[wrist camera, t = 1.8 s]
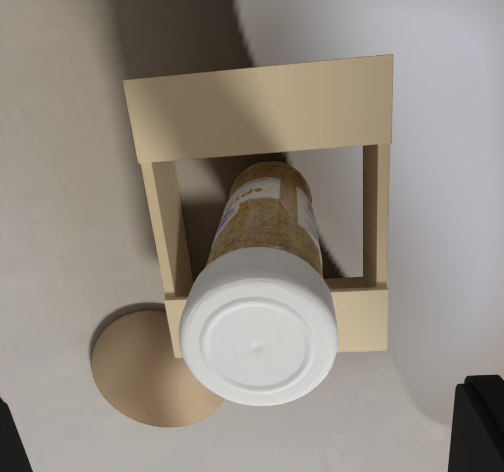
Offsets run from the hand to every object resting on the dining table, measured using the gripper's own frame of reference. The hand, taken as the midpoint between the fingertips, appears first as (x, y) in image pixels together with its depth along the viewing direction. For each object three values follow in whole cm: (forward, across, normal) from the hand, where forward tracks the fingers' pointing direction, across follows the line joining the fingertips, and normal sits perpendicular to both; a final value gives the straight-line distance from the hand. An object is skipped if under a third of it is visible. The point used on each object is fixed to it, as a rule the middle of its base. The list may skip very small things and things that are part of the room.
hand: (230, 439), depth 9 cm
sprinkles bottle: (+17, -1, 0) cm, 17 cm away
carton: (+17, -1, 0) cm, 17 cm away
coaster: (+17, +7, +11) cm, 21 cm away
